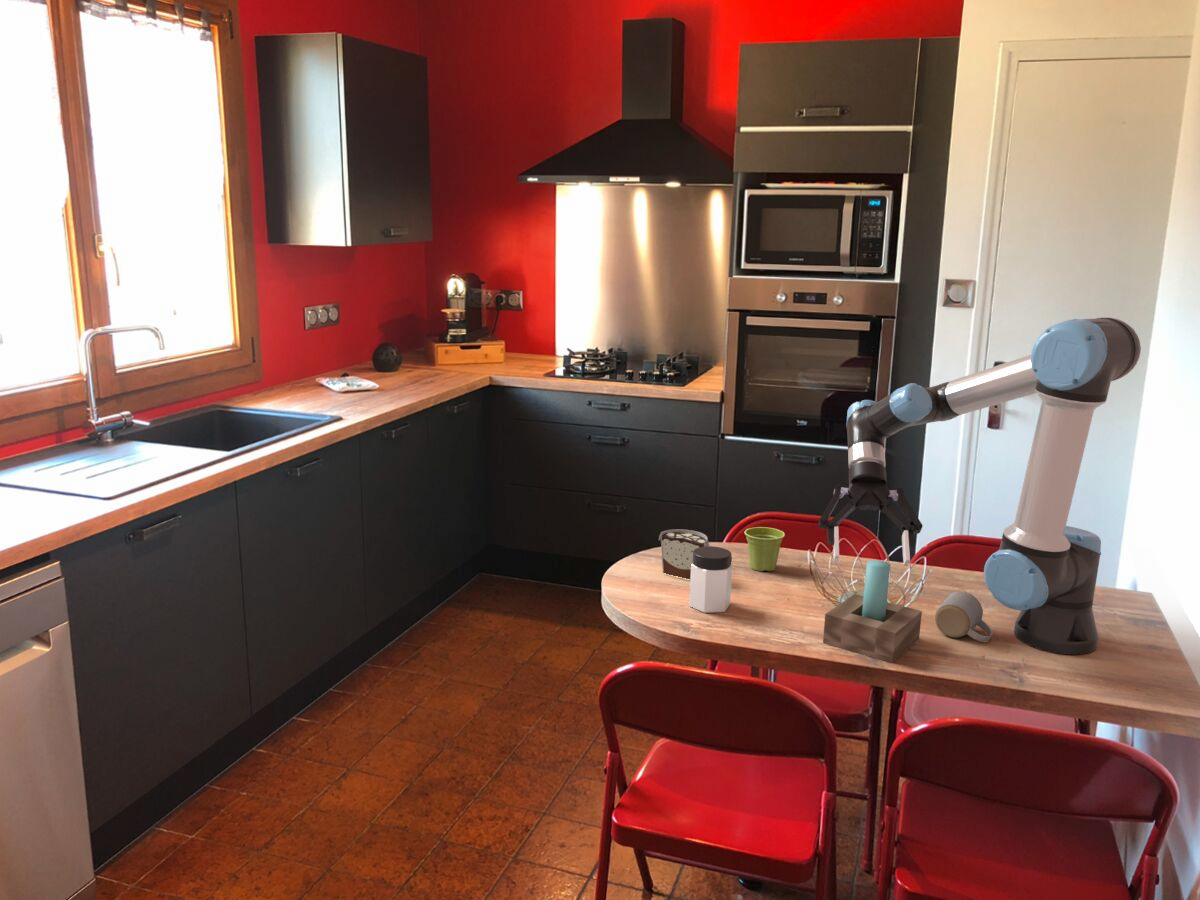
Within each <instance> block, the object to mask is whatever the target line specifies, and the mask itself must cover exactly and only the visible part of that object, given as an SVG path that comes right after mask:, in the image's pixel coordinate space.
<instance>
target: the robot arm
mask: <svg viewBox="0 0 1200 900" xmlns="http://www.w3.org/2000/svg"><path fill="white" fill-rule="evenodd" d="M1141 349H1142V347H1141V341H1140V338H1139V336H1138V333H1137V332H1136V331H1135V329H1134V328H1133V327H1132V326H1131V325H1129V324H1128V323H1127V322H1125V321H1123V320H1121V319H1117V318H1115V317H1114V318H1113V317H1097V318H1083V319H1082V318H1081V319H1080V318H1074V319H1068V320H1064V321H1062V322H1059V323H1055V324H1052V326H1049V327H1048V328H1046V329H1045V330H1044V331H1043V332H1042V333H1041V334H1040V335H1039V336H1038V337H1037V339H1036V340H1035V342H1034V343H1033V346H1032V348H1031V353H1030V354H1028V355H1026V356H1022V357H1020V358H1016V359H1013V360H1011V361H1007V362H1004V363H1001V364H998V365H995V366H992V367H990V368H986V369H983V370H979V371H977V372H974V373H971V374H968V375H964V376H961V377H958V378H955V379H952V380H950V381H945V382H942V383H939V384H936V385H933V386H929V387H923V386H922V385H918V384H917V383H915V382H914V383H913V382H911V383H908V384H905V385H904V386H902V387H898V388H897V389H895V390H894V391H893V392H891V393H890V394H889V395H887V396H885V397H883V398H882V399H881V400H879V401H875V400H872V399H864V400H863V399H862V400H861V401H856V402H855V401H854V402H853V403H852V404H850V406H849V407H848V409H847V412H846V413H847V414H846V415H847V416H846V424H845V426H846V431H847V432H846V433H847V434H846V435H847V453H848V455H847V456H848V458H847V459H848V460H847V461H848V487H842V486H841V485H840V484H839V483H838V484H835V487H834V488H833V489H834V490H833V493H832V494H833V495H832V496H831V499H830V501H829V502H828V504H827V505H826V508H825V509H824V511H823V512H822V514H821V516H820V518H819V521H818V525H817V526H818V528H819V529H825V530H826V533H827V544H828V546H829V545H830V546H832V548H833V549H832V554H833V558H832V559H833V563H834V562H835V563H838V561H839V557H840V536H839V534H840V533H839V525H840V524H841V523H842V522H843V521H844V520H845V519H846V518H847V517H848V516H849V515H850V514H851V513H852V512H854V511H855V510H856V509H858V508H859V510H860V511H866V510H870V511H877V510H879V511H880V512H881V513H882V514H885V516H887V518H889V519H890V520H891V522H892V523H894V525H896V527H898V529H900V531H901V532H902V535H901V545H902V549H901V550H902V562H903V563H902V564H903V566H904V567H908V566H909V564H910V561H911V555H910V553H911V552H910V551H911V550H913V549H914V546H915V539H914V538H915V537H914V535H915V534H917V535H919V534H921V532H922V531H921V530H922V529H923V524H922V522H921V520H920V518H919V517H918V516H917V514H916V512H915V510H914V509H913V507H912V506H911V505H910V503H909V501H908V500H907V498H906V497H905V493H904V489H903V487H898V488H897V489H891V490H890V489H889V487H888V484H887V469H886V466H887V463H886V452H885V451H886V448H885V447H886V446H885V440H886V439H887V438H889V437H892V436H893V435H895V434H897V433H898V432H900V431H902V430H905V429H906V428H908V427H909V428H910V427H914V426H920V425H924V424H925V425H926V424H928V423H929V424H930V423H935V422H936V423H937V422H946V421H950V420H952V419H955V418H957V417H959V416H961V415H965V414H969V413H972V412H975V411H979V410H982V409H985V408H990V407H992V406H996V405H1000V404H1002V403H1003V404H1004V403H1006V402H1010V401H1014V400H1017V399H1021V398H1024V397H1027V396H1031V395H1034V394H1037V395H1038V397H1039V398H1040V400H1041V404H1040V407H1039V408H1040V409H1039V413H1038V417H1037V421H1036V425H1035V430H1034V434H1033V435H1034V436H1033V438H1032V439H1033V440H1032V443H1031V448H1030V452H1029V457H1028V461H1027V465H1026V469H1025V474H1024V479H1023V483H1022V487H1021V493H1020V495H1019V496H1020V497H1019V500H1018V506H1017V510H1016V514H1015V518H1014V522H1013V524H1010V525H1009V526H1007V527H1005V528H1004V529H1003V532H1002V537H1001V542H1000V545H999V549H998V550H997V551H995V552H993V553H992V554H991V555H990V556H988V559H987V560H986V561H985V564H984V566H983V567H984V568H983V578H984V582H985V584H986V588H987V589H988V590H989V591H990V593H991V595H992V597H993V598H994V599H995V600H996V601H998V602H999V603H1000V604H1001V605H1002V606H1004V607H1007V608H1008V609H1013V610H1016V611H1019V614H1018V615H1017V617H1016V619H1015V622H1014V629H1013V634H1014V635H1015V637H1016V638H1017V639H1018V640H1019V641H1021V642H1023V643H1024V644H1026V645H1028V646H1029V647H1033V648H1035V649H1039V650H1042V651H1045V652H1049V653H1053V654H1061V655H1085V654H1089V653H1092V652H1094V651H1096V650H1097V647H1098V640H1099V634H1098V630H1097V625H1096V620H1095V615H1094V612H1093V606H1094V598H1095V592H1096V585H1097V584H1096V583H1097V579H1098V578H1097V577H1098V572H1099V564H1100V559H1101V555H1102V551H1101V549H1102V541H1101V538H1100V536H1098V534H1095V533H1094V532H1091V531H1089V530H1085V529H1082V528H1079V527H1074V526H1069V525H1067V523H1068V518H1069V514H1070V509H1071V506H1072V502H1073V499H1074V498H1073V497H1074V494H1075V489H1076V486H1077V481H1078V478H1079V474H1080V471H1081V470H1080V469H1081V464H1082V461H1083V457H1084V452H1085V449H1086V445H1087V440H1088V436H1089V432H1090V429H1091V424H1092V420H1093V416H1094V413H1095V410H1096V409H1097V408H1099V407H1101V406H1102V405H1104V404H1105V403H1106V402H1107V399H1108V394H1109V390H1110V387H1111V383H1112V382H1115V381H1117V380H1120V379H1121V378H1124V377H1126V376H1127V375H1128V374H1129V373H1130V372H1131V371H1133V369H1135V367H1136V365H1137V364H1138V361H1139V360H1140V356H1141ZM845 495H847V497H848V498H849V501H848V502H847V503H846V504H845V506H843V507H842V508H841V509H840V510H839V511H838V513H836V514H835V516H833V517H832V518H831V520H829V518H830V517H831V515H832V514H833V511H834V510H835V508H836V507H837V505H838V503H839V500H840V499H843V498H844V497H845ZM889 498H892V500H893V501H894V502H896V505H897V507H898V508H899V510H900V512H901V513H902V514H901V513H900V512H899V511H898V510H897V509H896V508H895V507H894V506H893V505H892V503H891V501H889Z"/></svg>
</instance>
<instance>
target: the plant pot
mask: <svg viewBox="0 0 1200 900" xmlns="http://www.w3.org/2000/svg"><path fill="white" fill-rule="evenodd" d="M785 534H786V533H785V532H784V531H783V530H780V529H777V528H773V527H765V526H764V527H763V526H757V527H750V528H746V529H745V531H744V535H745V537H746V541H747V547H748V548H747V549H748V561H749V566H750V568H751V569H752V570H754V571H758V572H764V571H767V572H772V571H774V570H776V569H777V564H778V557H779V553H780V548H781V543H782V542H783V539H784V538H785V536H786V535H785Z"/></svg>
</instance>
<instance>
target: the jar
mask: <svg viewBox="0 0 1200 900" xmlns="http://www.w3.org/2000/svg"><path fill="white" fill-rule="evenodd" d="M732 555H733V554H732V552H731V551H730V550H728V549H727V548H724V547H719V546H710V545H709V546H706V547H699V548H696V549H695V550H694V551H693V563H692V565H691V577H690V581H689V599H688V601H689V603H688V607H690V608H692V607H693V609H695V610H698V611H699V612H702V613H703V614H704V613H706V614H708V613H710V614H711V613H712V614H713V613H725V612H726V610H727V609H728V608H729V606H730V605H731V593H732V575H733V574H732V573H733V563H732V561H733V558H732Z"/></svg>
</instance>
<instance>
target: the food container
mask: <svg viewBox="0 0 1200 900" xmlns="http://www.w3.org/2000/svg"><path fill="white" fill-rule="evenodd" d="M658 541H660V545H661V546H660V547H661V548H660V549H661V564H662V565H661V567H662V574H663V573H666V574H669V575H673V576H678V577H682V578H686V579H690V577H691V565H692V563H693V551H694V550H695V549H696V548H699V547H706V546H710V542H709V539H708V536H707V535H706V534H704V533H703V532H700V531H696V530H692V529H691V530H690V529H682V528H681V529H667V530H664V531H661V532H660V534H659V536H658Z"/></svg>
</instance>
